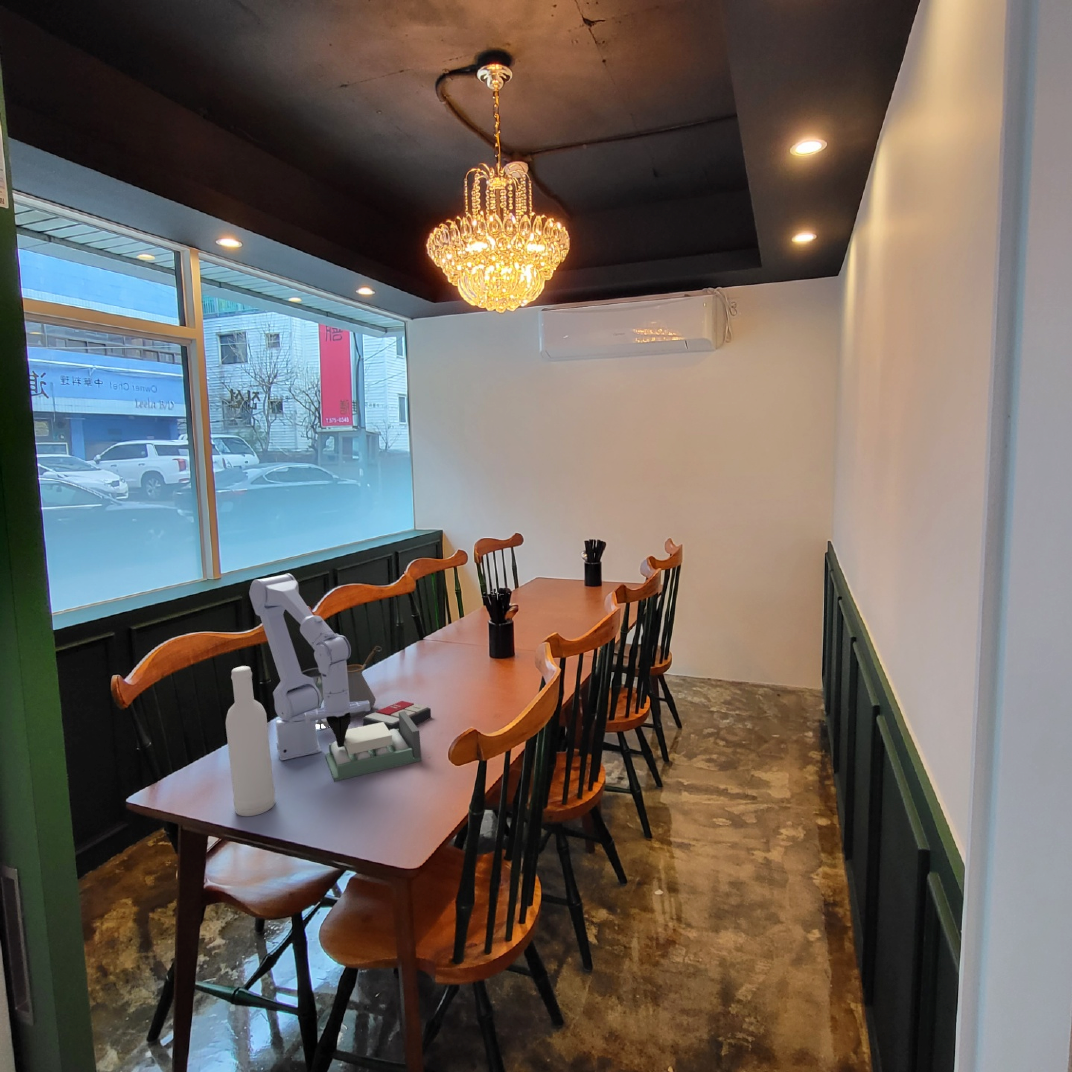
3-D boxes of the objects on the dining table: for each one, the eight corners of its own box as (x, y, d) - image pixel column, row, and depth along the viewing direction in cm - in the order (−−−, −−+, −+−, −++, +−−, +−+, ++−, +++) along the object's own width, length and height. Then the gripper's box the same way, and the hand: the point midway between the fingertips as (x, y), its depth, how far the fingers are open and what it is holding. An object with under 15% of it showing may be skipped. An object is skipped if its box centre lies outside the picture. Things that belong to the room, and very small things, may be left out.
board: (349, 754, 154) (348, 744, 154) (342, 740, 162) (341, 730, 162) (392, 744, 158) (391, 735, 158) (384, 731, 166) (383, 721, 166)
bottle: (263, 793, 147) (250, 660, 143) (283, 804, 142) (269, 666, 138) (227, 809, 141) (212, 670, 137) (246, 821, 136) (231, 677, 132)
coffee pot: (363, 721, 185) (359, 668, 183) (326, 718, 188) (322, 666, 186) (399, 693, 205) (395, 645, 203) (365, 691, 208) (361, 644, 206)
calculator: (431, 705, 185) (392, 722, 172) (431, 720, 185) (392, 739, 172) (401, 699, 191) (361, 715, 178) (402, 713, 191) (362, 730, 178)
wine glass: (324, 717, 188) (320, 665, 186) (341, 723, 183) (336, 670, 181) (299, 727, 182) (294, 673, 180) (315, 734, 177) (310, 679, 175)
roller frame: (334, 781, 151) (331, 749, 150) (325, 756, 163) (322, 727, 162) (421, 760, 159) (419, 730, 158) (406, 738, 172) (404, 710, 171)
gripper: (304, 701, 149) (310, 759, 151) (370, 688, 155) (375, 744, 157) (301, 691, 156) (306, 747, 157) (364, 679, 162) (369, 734, 163)
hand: (340, 745), depth 157 cm, fingers closed
